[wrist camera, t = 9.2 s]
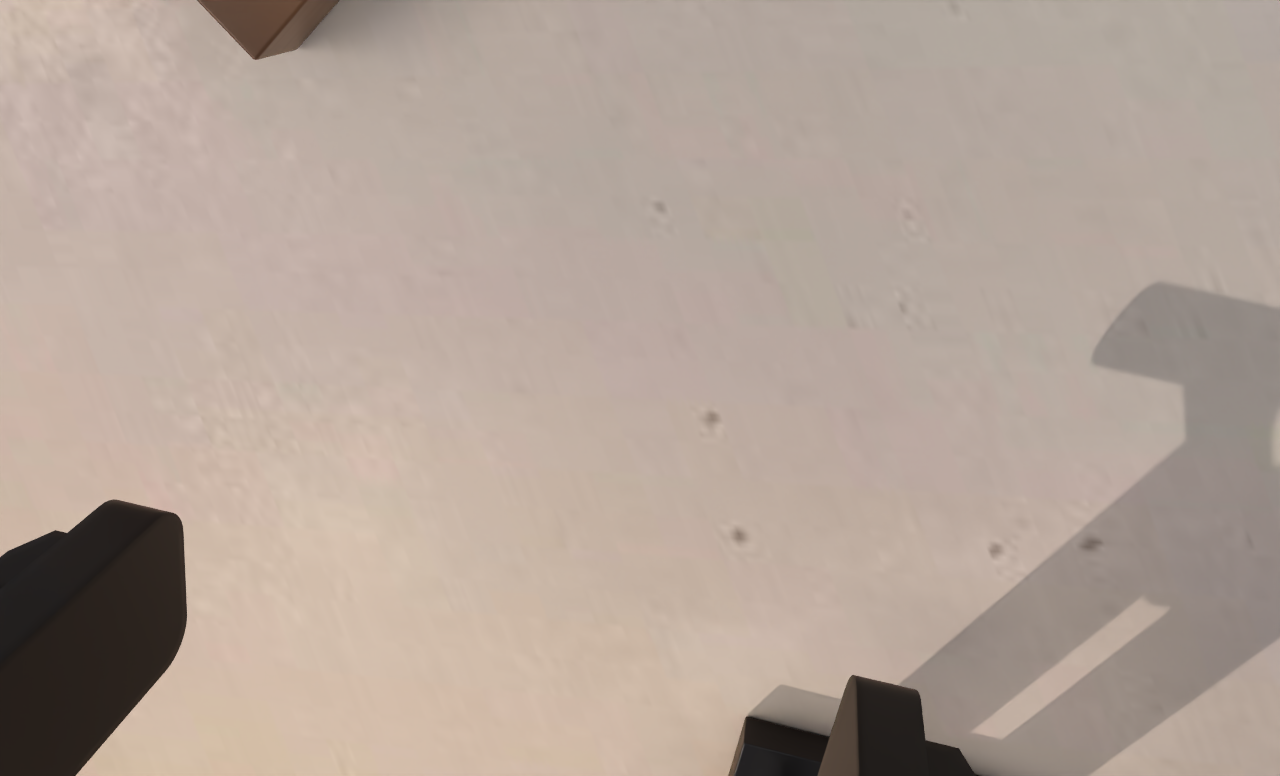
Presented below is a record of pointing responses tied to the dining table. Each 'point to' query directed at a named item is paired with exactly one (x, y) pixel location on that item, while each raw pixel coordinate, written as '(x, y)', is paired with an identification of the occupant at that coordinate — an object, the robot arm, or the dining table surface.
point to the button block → (269, 22)
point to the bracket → (777, 751)
